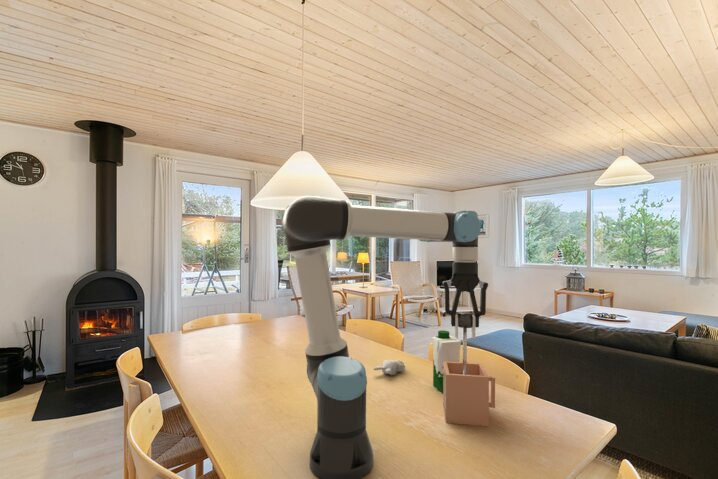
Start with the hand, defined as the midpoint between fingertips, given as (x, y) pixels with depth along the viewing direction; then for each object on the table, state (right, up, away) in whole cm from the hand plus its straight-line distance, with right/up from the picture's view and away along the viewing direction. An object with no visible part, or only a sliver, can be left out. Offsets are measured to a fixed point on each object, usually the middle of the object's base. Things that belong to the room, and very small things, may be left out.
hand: (464, 337), depth 110 cm
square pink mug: (+1, -24, 0) cm, 24 cm away
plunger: (0, -14, 0) cm, 14 cm away
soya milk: (-1, -24, +19) cm, 31 cm away
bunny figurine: (-20, -24, +34) cm, 46 cm away
